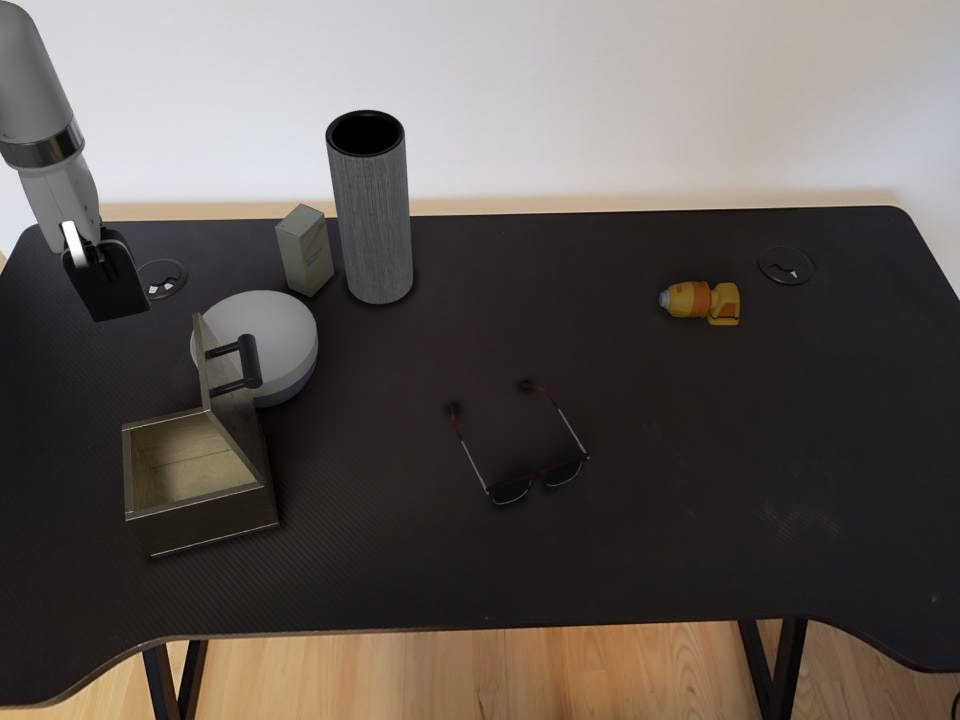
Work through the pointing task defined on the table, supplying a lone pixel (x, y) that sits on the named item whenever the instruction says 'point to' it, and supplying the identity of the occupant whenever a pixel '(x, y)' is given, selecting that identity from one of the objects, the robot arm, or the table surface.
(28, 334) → the table surface
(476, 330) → the table surface
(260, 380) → the lid
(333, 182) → the vase
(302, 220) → the cosmetic box
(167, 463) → the brown hollow box
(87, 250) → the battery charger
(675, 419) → the table surface
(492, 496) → the sunglasses
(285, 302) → the white round container
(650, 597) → the table surface
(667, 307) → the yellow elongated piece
